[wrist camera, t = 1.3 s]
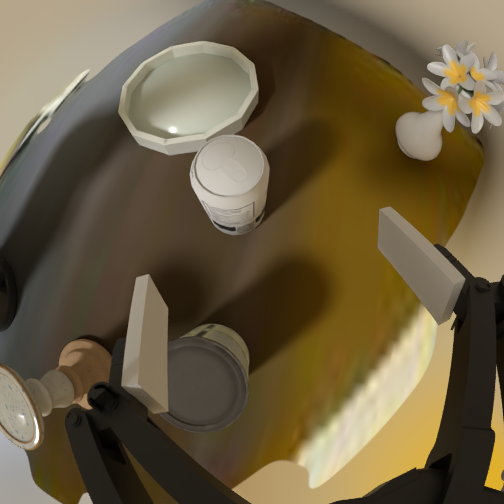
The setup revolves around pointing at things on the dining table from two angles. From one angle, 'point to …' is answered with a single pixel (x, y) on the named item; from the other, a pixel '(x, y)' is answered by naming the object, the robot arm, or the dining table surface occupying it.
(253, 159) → the supplement can
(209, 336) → the coffee can
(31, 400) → the candle holder
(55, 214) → the dining table surface
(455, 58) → the flower vase
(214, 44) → the ceramic bowl
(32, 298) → the dining table surface
